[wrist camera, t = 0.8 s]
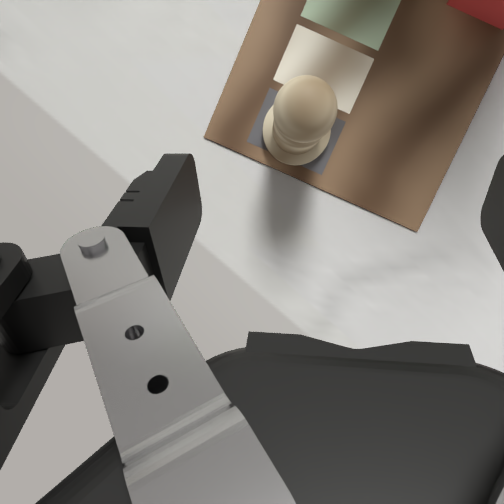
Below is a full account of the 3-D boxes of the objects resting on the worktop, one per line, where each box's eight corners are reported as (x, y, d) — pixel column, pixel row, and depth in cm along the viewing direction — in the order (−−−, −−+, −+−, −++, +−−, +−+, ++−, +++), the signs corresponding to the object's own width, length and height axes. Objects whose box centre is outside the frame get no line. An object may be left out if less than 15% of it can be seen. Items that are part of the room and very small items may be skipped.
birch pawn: (252, 149, 34) (247, 126, 25) (279, 86, 34) (285, 37, 24) (312, 176, 35) (331, 163, 25) (340, 113, 34) (370, 76, 24)
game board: (204, 138, 35) (203, 136, 34) (313, -125, 33) (314, -131, 32) (414, 231, 35) (417, 231, 35) (537, -22, 33) (543, -26, 32)
